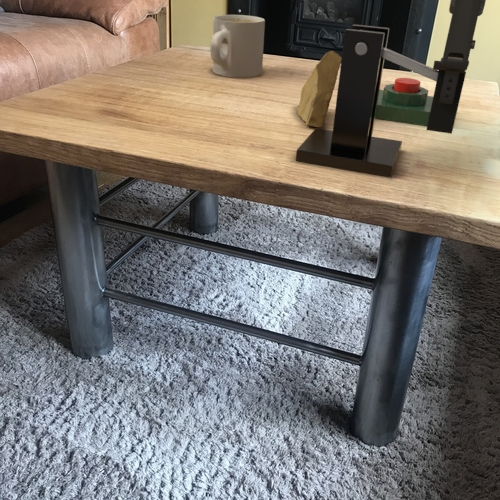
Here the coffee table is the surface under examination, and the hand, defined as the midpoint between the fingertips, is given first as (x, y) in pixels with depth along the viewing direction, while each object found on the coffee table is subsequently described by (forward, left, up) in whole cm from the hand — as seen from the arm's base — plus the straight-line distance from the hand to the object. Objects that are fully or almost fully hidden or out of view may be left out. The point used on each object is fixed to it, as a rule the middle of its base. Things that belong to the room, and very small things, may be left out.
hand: (442, 115), depth 68 cm
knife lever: (+6, 0, +4) cm, 7 cm away
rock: (+19, -14, -7) cm, 25 cm away
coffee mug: (+41, -36, -7) cm, 55 cm away
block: (+6, -24, -7) cm, 26 cm away
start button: (+6, -24, -3) cm, 25 cm away
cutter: (+10, 0, -7) cm, 13 cm away
